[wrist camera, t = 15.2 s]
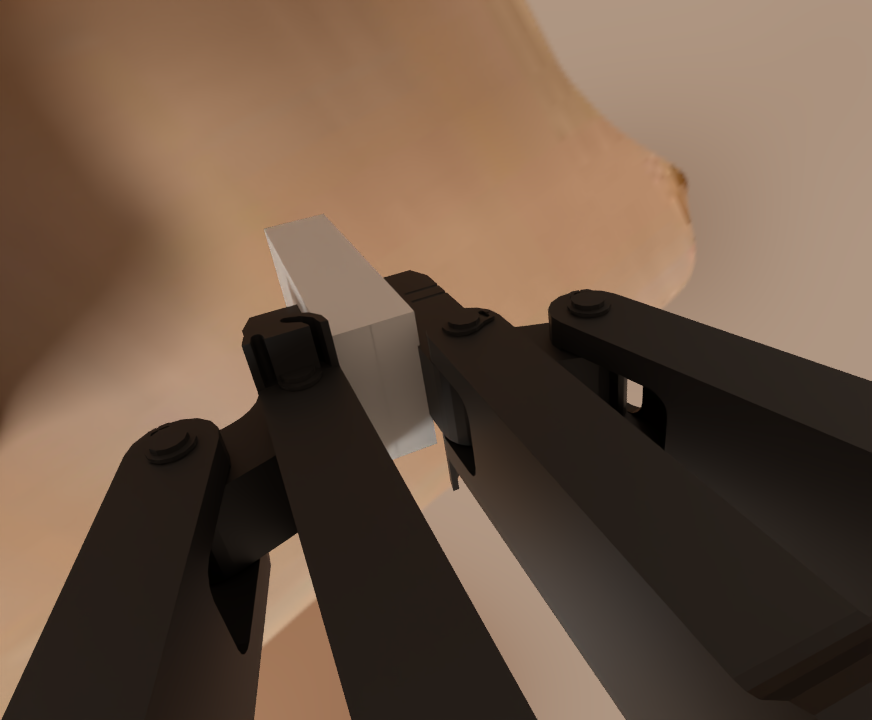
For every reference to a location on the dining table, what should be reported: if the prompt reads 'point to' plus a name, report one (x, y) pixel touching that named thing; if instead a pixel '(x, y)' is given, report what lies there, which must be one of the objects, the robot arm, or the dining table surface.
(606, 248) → the dining table surface
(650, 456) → the robot arm
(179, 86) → the dining table surface
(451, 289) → the dining table surface
